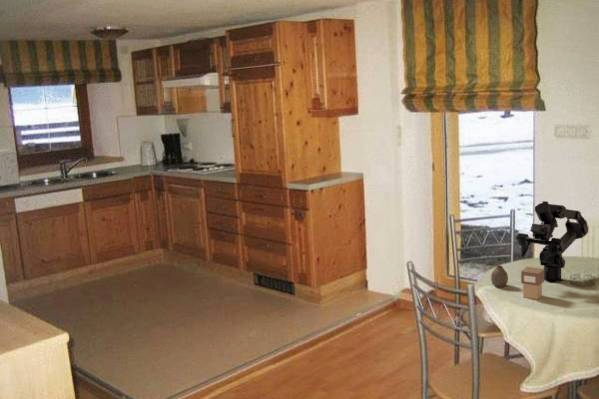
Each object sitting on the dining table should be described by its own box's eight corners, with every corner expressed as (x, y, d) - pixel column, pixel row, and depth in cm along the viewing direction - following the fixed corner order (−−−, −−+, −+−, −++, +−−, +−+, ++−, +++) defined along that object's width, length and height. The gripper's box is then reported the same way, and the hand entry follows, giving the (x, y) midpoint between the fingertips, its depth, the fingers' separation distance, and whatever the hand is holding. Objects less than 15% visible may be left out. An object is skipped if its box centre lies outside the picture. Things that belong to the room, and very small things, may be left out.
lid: (527, 278, 259) (527, 266, 258) (544, 280, 255) (544, 269, 254) (521, 283, 254) (521, 271, 253) (538, 285, 250) (538, 273, 249)
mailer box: (528, 293, 260) (528, 269, 258) (542, 295, 256) (542, 271, 254) (523, 297, 255) (523, 272, 253) (537, 299, 252) (537, 274, 250)
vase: (508, 288, 266) (508, 268, 265) (491, 288, 268) (491, 268, 266) (507, 283, 273) (506, 263, 271) (490, 283, 274) (490, 263, 273)
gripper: (519, 214, 267) (505, 242, 261) (563, 219, 254) (550, 249, 248) (527, 230, 274) (513, 259, 267) (570, 236, 261) (557, 266, 254)
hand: (532, 258), depth 259 cm, fingers open, 9 cm apart
